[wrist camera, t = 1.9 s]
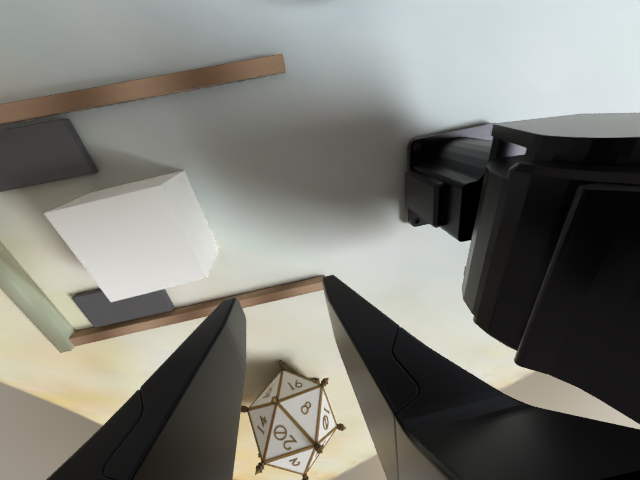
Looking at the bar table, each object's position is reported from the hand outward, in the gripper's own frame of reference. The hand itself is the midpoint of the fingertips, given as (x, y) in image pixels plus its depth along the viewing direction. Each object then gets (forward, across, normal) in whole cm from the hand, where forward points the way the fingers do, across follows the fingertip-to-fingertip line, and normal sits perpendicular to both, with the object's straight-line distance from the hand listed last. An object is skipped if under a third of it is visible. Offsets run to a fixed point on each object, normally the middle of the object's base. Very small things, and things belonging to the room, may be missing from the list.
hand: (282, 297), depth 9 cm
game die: (+11, +4, +19) cm, 22 cm away
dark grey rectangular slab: (+11, +14, 0) cm, 17 cm away
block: (+11, +8, 0) cm, 14 cm away
